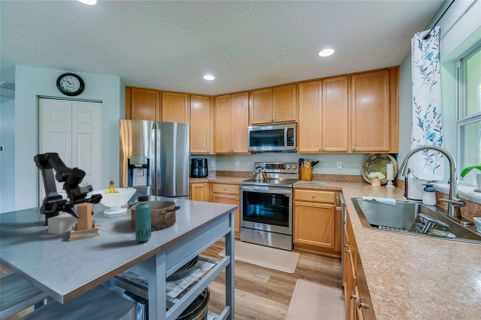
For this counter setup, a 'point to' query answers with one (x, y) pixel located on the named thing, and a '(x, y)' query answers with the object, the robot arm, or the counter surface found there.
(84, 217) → the block
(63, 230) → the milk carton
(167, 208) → the cooking pot
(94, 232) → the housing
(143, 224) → the beverage bottle
